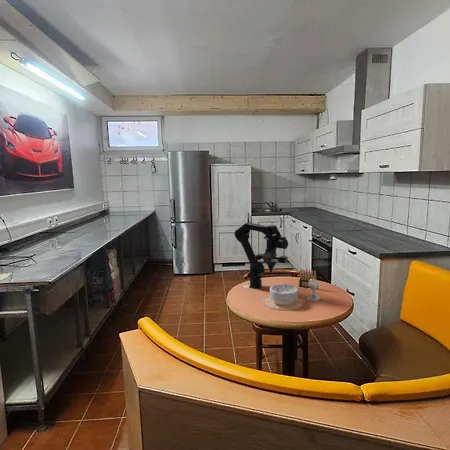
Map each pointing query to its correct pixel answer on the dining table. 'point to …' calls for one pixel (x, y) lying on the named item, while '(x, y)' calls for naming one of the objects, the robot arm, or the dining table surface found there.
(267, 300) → the centring plate
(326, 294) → the dining table surface
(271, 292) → the white floral bowl
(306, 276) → the ammunition clip
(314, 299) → the dial gauge stand
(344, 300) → the dining table surface
